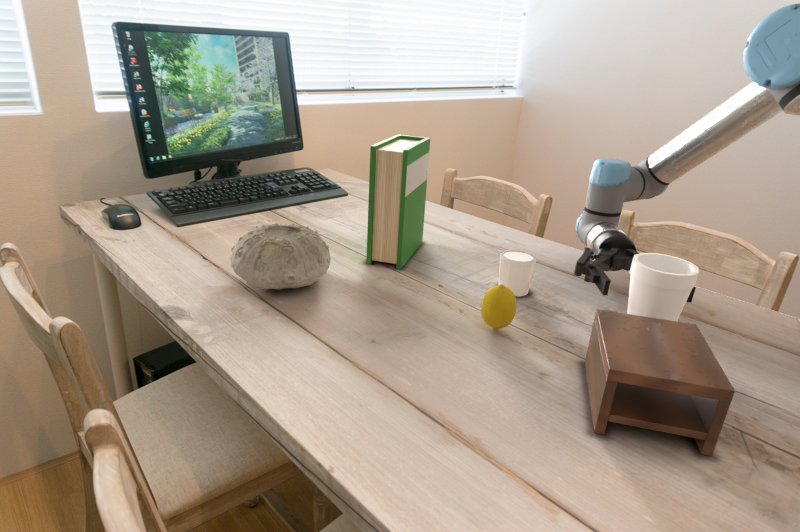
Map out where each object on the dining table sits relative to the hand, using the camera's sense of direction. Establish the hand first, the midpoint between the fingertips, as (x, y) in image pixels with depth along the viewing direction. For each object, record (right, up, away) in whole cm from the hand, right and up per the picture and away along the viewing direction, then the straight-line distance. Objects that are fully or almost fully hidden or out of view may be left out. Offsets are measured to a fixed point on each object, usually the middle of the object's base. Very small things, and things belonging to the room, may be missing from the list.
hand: (648, 291), depth 87 cm
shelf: (-9, -14, -17) cm, 24 cm away
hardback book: (-42, +7, +30) cm, 52 cm away
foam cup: (-1, -8, 0) cm, 8 cm away
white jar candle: (-19, -1, +14) cm, 24 cm away
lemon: (-25, -6, -1) cm, 26 cm away
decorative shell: (-63, +1, +12) cm, 64 cm away
